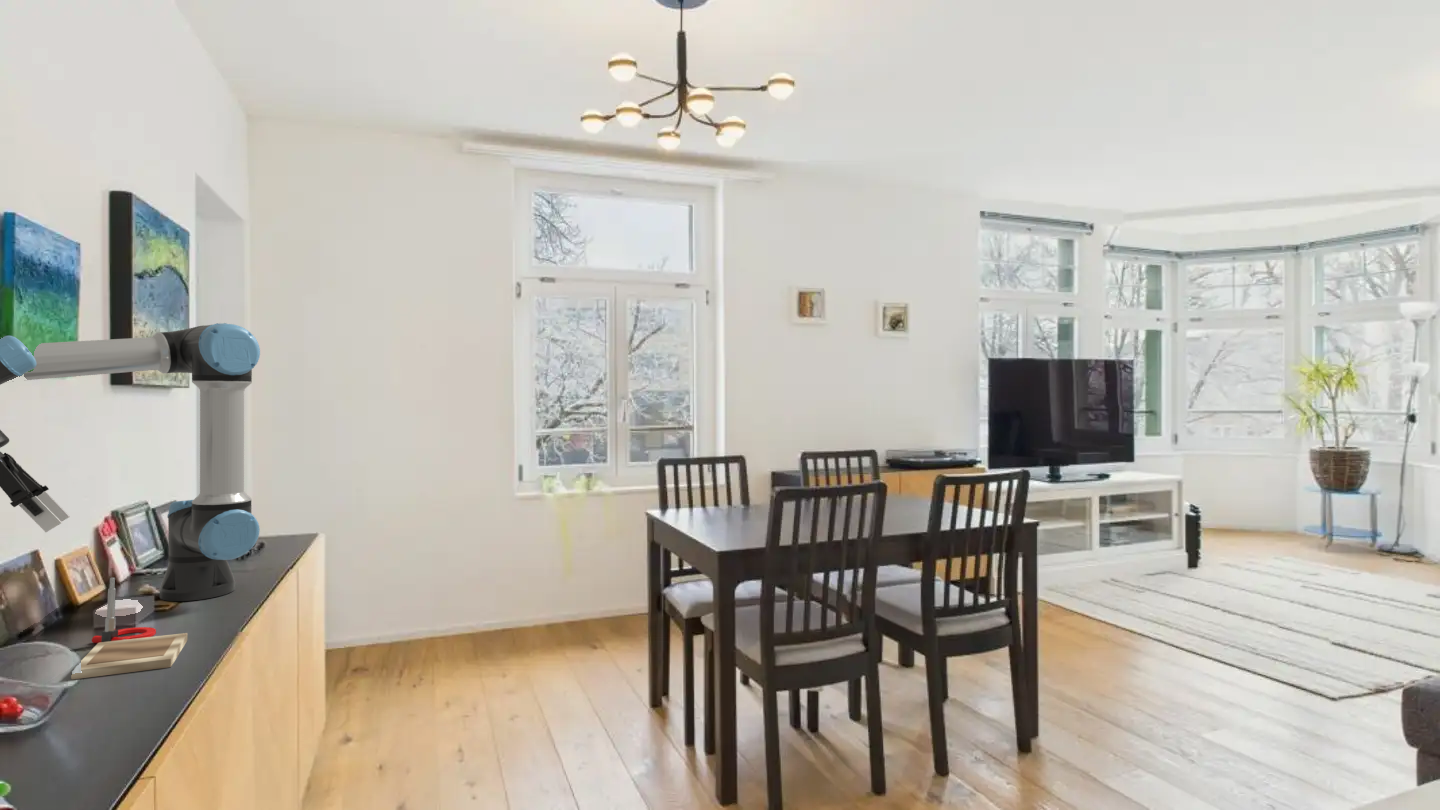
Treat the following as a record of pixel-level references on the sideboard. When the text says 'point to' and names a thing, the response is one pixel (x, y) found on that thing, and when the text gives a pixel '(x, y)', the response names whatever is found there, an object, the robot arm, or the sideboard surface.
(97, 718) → the sideboard surface
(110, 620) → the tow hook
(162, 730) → the sideboard surface
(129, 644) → the wooden tray
